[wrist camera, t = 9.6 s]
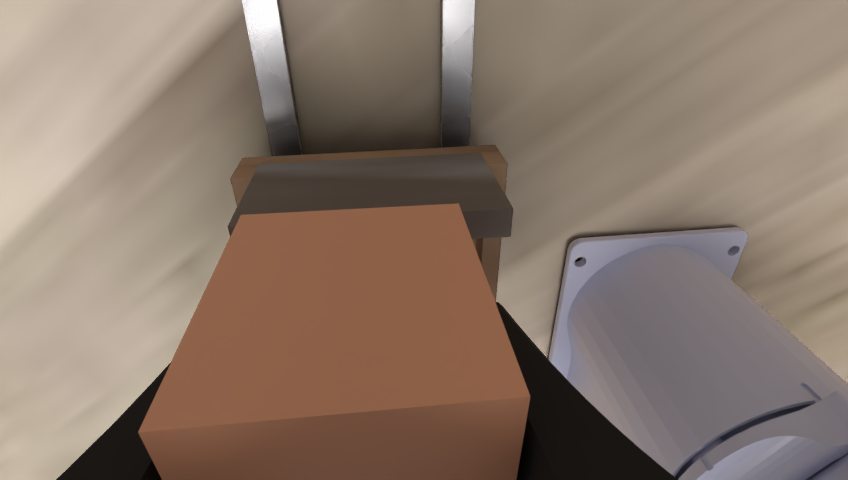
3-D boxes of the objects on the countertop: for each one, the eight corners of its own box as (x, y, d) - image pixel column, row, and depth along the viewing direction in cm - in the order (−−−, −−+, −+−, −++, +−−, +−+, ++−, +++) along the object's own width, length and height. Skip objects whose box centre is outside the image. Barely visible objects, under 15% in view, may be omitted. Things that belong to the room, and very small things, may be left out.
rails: (462, 281, 21) (463, 286, 20) (301, 293, 20) (299, 299, 20) (474, -73, 14) (478, -73, 14) (231, -70, 13) (228, -70, 13)
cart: (474, 325, 21) (507, 437, 16) (294, 339, 21) (271, 462, 16) (485, 130, 16) (537, 207, 12) (251, 142, 16) (201, 228, 11)
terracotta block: (452, 356, 12) (500, 575, 8) (277, 370, 12) (227, 609, 7) (458, 203, 10) (530, 396, 6) (240, 214, 9) (138, 431, 5)
